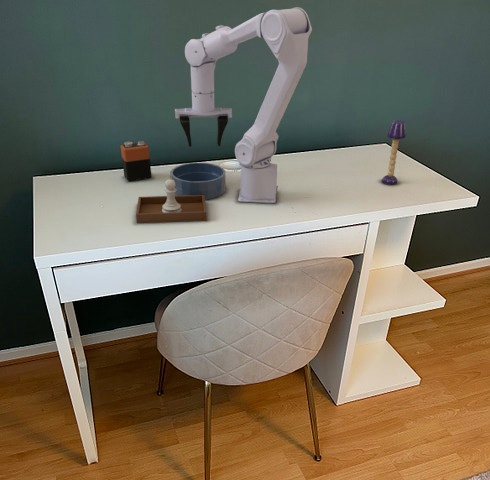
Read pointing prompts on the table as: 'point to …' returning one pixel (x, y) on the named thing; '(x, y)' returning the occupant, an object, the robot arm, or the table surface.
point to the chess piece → (170, 198)
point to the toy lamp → (394, 149)
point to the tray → (152, 212)
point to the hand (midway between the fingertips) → (204, 145)
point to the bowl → (199, 179)
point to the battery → (136, 161)
